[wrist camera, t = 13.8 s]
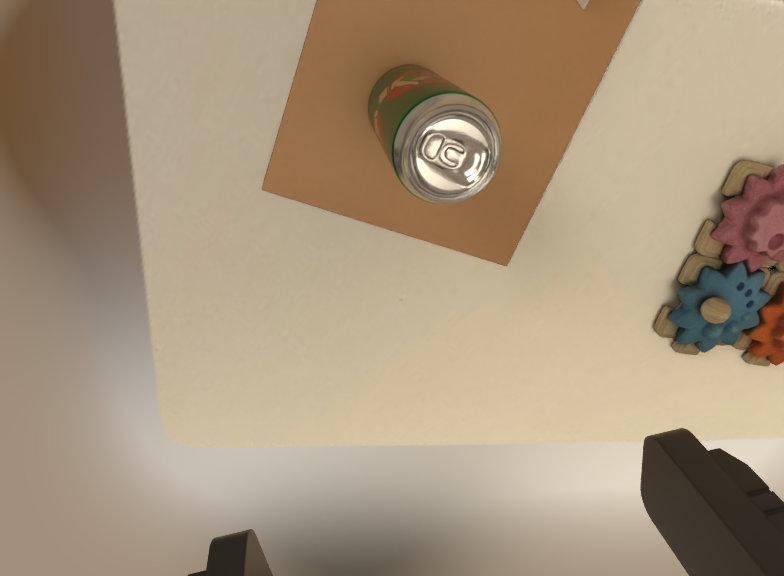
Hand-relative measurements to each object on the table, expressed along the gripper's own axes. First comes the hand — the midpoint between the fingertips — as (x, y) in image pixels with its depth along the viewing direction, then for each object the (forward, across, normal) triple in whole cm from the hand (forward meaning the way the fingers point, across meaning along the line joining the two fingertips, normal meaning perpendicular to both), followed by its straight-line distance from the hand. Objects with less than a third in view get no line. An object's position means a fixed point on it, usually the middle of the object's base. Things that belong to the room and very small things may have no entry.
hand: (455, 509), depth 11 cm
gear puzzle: (+28, -38, +18) cm, 50 cm away
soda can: (+28, -4, -2) cm, 28 cm away
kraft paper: (+28, -8, -4) cm, 29 cm away
